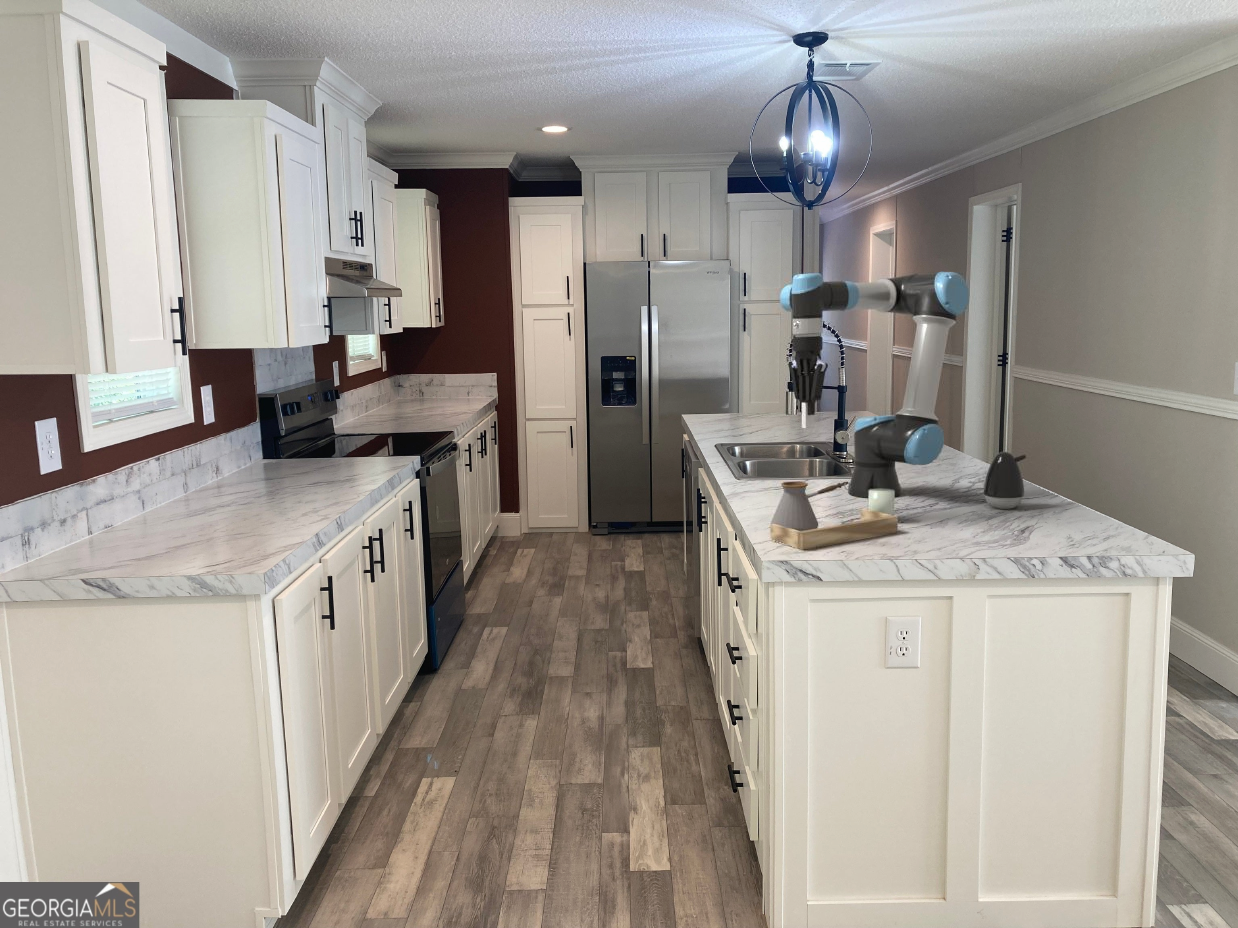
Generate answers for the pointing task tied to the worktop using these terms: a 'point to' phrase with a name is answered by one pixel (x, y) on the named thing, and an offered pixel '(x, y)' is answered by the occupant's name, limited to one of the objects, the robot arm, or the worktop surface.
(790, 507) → the coffee pot
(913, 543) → the worktop surface
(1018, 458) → the pump dispenser
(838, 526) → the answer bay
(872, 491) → the green jar
